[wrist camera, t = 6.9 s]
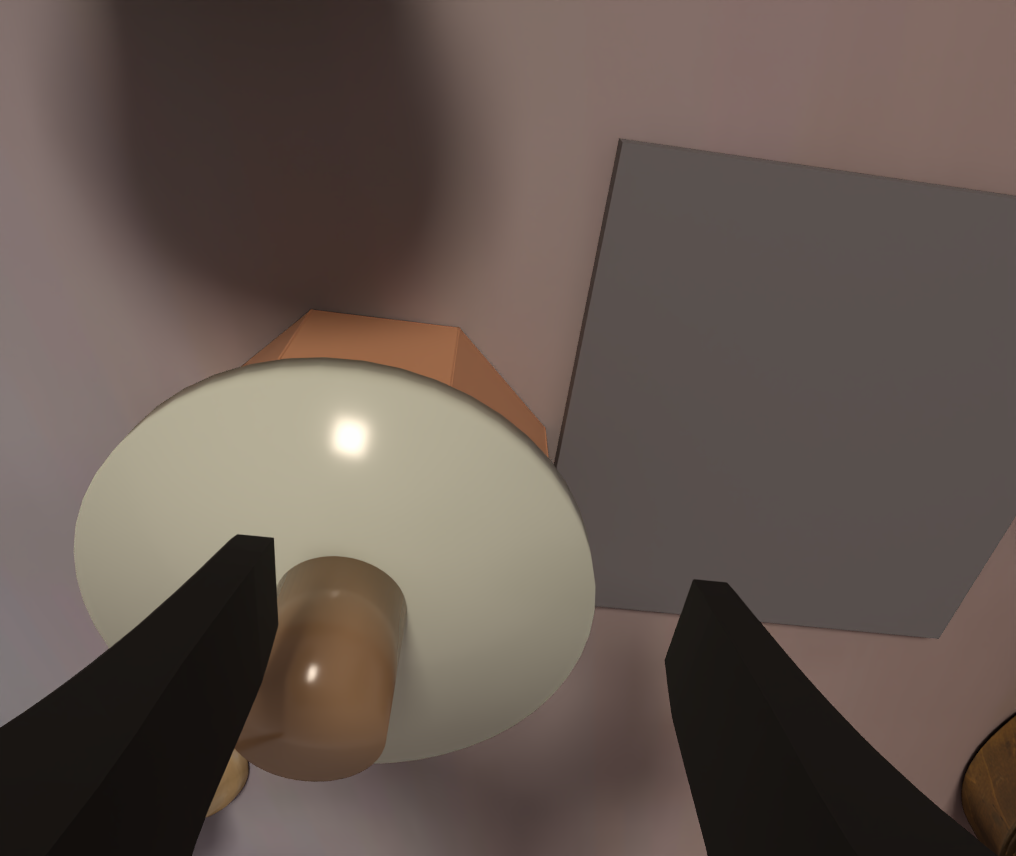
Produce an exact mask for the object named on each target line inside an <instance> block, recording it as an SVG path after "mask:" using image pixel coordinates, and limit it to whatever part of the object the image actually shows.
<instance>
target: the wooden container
mask: <svg viewBox="0 0 1016 856" xmlns="http://www.w3.org/2000/svg"><path fill="white" fill-rule="evenodd" d="M962 806H963V810H964V813H965V815H966V817H967V819H968V821H969V823H970V825H971V827H972V829H973V831H974V833H975V834H976V836H977V838H978V840H979V841H980V842H981V843H983V844H984V845H985V846H986V847H988V848H989V849H990V850H991V851H993V852H994V853H995V854H996V855H998V856H1016V716H1015V717H1013V718H1012V719H1011V720H1009V721H1008V722H1007V723H1006V724H1005V725H1004V726H1002V727H1001V728H1000V729H999V730H998V731H997V732H996V733H995V734H994V735H993V736H992V737H991V738H990V739H989V740H988V741H987V742H986V744H985V745H984V746H983V747H982V748H981V749H980V751H979V752H978V753H977V755H976V756H975V758H974V759H973V761H972V762H971V764H970V766H969V767H968V769H967V772H966V774H965V777H964V780H963V785H962Z"/></svg>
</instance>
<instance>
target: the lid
mask: <svg viewBox="0 0 1016 856" xmlns="http://www.w3.org/2000/svg"><path fill="white" fill-rule="evenodd" d="M237 534H242V535H252V536H262V537H272V538H274V548H275V567H276V586H277V606H278V629H277V632H276V636H275V640H274V643H273V647H272V650H271V654H270V657H269V661H268V664H267V667H266V671H265V674H264V678H263V681H262V684H261V686H260V688H259V691H258V693H257V696H256V698H255V701H254V703H253V705H252V708H251V710H250V713H249V715H248V717H247V720H246V722H245V725H244V727H243V729H242V732H241V734H240V736H239V739H238V741H237V744H236V746H235V749H236V751H237V752H238V753H239V754H240V755H241V756H242V757H244V758H245V759H246V760H248V761H249V762H250V763H252V764H253V765H255V766H257V767H259V768H261V769H263V770H265V771H267V772H269V773H272V774H275V775H278V776H281V777H285V778H289V779H294V780H301V781H314V782H317V781H332V780H338V779H343V778H347V777H350V776H353V775H355V774H358V773H360V772H362V771H364V770H365V769H367V768H368V767H370V766H371V765H372V764H380V763H395V762H404V761H413V760H419V759H424V758H429V757H434V756H440V755H444V754H447V753H451V752H454V751H457V750H461V749H464V748H467V747H470V746H472V745H475V744H477V743H480V742H482V741H485V740H487V739H490V738H492V737H494V736H496V735H498V734H500V733H501V732H503V731H505V730H507V729H509V728H511V727H513V726H514V725H516V724H517V723H519V722H520V721H522V720H523V719H525V718H526V717H527V716H529V715H530V714H532V713H533V712H535V711H536V710H537V709H538V708H539V707H540V706H541V705H542V704H543V703H545V702H546V701H547V700H548V699H549V698H550V697H551V696H552V695H553V694H554V693H555V692H556V691H557V690H558V688H559V687H560V686H561V685H562V684H563V682H564V681H565V680H566V679H567V678H568V676H569V675H570V673H571V671H572V670H573V668H574V666H575V665H576V663H577V662H578V660H579V658H580V657H581V654H582V652H583V649H584V647H585V644H586V642H587V639H588V637H589V634H590V630H591V625H592V621H593V616H594V612H595V587H596V586H595V579H594V572H593V565H592V558H591V552H590V546H589V540H588V534H587V530H586V527H585V524H584V521H583V518H582V515H581V511H580V508H579V506H578V504H577V502H576V500H575V498H574V496H573V494H572V492H571V490H570V488H569V487H568V485H567V483H566V481H565V480H564V479H563V477H562V476H561V474H560V473H559V471H558V470H557V469H556V467H555V466H554V464H553V463H552V462H551V460H550V459H549V458H548V457H547V456H546V455H545V454H544V452H543V451H542V450H541V449H540V448H539V447H538V446H537V445H536V444H535V443H534V442H533V441H532V440H531V439H530V438H529V437H528V436H527V435H526V434H525V433H524V432H522V431H521V430H520V429H519V428H517V427H516V426H515V425H514V424H513V423H511V422H510V421H509V420H508V419H506V418H505V417H504V416H503V415H501V414H500V413H498V412H497V411H495V410H493V409H492V408H490V407H488V406H487V405H485V404H484V403H482V402H480V401H479V400H477V399H476V398H474V397H472V396H471V395H468V394H466V393H464V392H462V391H460V390H458V389H455V388H453V387H451V386H449V385H447V384H445V383H442V382H440V381H438V380H435V379H432V378H429V377H426V376H423V375H420V374H417V373H414V372H411V371H408V370H405V369H402V368H397V367H393V366H388V365H383V364H378V363H373V362H368V361H363V360H351V359H340V358H328V357H315V358H286V359H280V360H273V361H267V362H261V363H255V364H249V365H245V366H242V367H239V368H235V369H232V370H228V371H225V372H222V373H218V374H215V375H213V376H211V377H208V378H206V379H204V380H202V381H200V382H197V383H195V384H193V385H191V386H189V387H186V388H184V389H183V390H181V391H180V392H178V393H177V394H175V395H173V396H172V397H170V398H169V399H167V400H166V401H164V402H163V403H161V404H160V405H158V406H157V407H156V408H155V409H154V410H152V411H151V412H150V413H149V414H148V415H147V416H146V417H145V418H144V419H143V420H142V421H140V422H139V423H138V424H137V425H136V426H135V427H134V428H133V429H132V430H131V431H130V433H129V434H128V435H127V436H126V437H125V438H124V439H123V440H122V441H121V443H120V444H119V445H118V446H117V447H116V448H115V449H114V450H113V452H112V453H111V454H110V456H109V457H108V458H107V460H106V461H105V462H104V463H103V465H102V466H101V467H100V469H99V470H98V471H97V473H96V474H95V476H94V478H93V480H92V482H91V484H90V486H89V488H88V490H87V492H86V494H85V496H84V498H83V501H82V504H81V508H80V511H79V515H78V519H77V522H76V529H75V541H74V558H75V567H76V577H77V580H78V584H79V587H80V591H81V594H82V598H83V601H84V604H85V606H86V608H87V610H88V612H89V614H90V617H91V619H92V621H93V623H94V625H95V627H96V629H97V630H98V632H99V633H100V635H101V636H102V638H103V639H104V641H105V642H106V644H107V645H108V647H109V648H110V647H112V646H113V645H114V644H115V643H116V642H118V641H119V640H120V639H121V638H123V637H124V636H125V635H126V634H127V633H129V632H130V631H131V630H132V629H134V628H135V627H136V626H137V625H138V624H139V623H141V622H142V621H143V620H144V619H145V618H146V617H147V616H148V615H150V614H151V613H152V612H153V611H154V610H155V609H156V608H157V607H159V606H160V605H161V604H162V603H163V602H164V601H165V600H166V599H168V598H169V597H170V596H171V595H172V594H173V593H174V592H175V591H176V590H178V589H179V588H180V587H181V586H182V585H183V584H184V583H185V582H186V581H187V580H188V579H189V578H190V577H191V576H193V575H194V574H195V573H196V572H197V571H198V570H199V569H200V568H201V567H202V566H203V565H204V564H205V563H206V562H207V561H208V560H209V559H210V558H211V557H212V556H213V555H214V554H215V553H216V552H217V551H219V550H220V549H221V548H222V547H223V546H224V545H225V544H226V543H227V542H228V541H229V540H230V539H231V538H232V537H234V536H235V535H237Z"/></svg>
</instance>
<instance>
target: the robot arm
mask: <svg viewBox="0 0 1016 856" xmlns="http://www.w3.org/2000/svg"><path fill="white" fill-rule="evenodd" d="M277 629H278V606H277V586H276V567H275V548H274V538H272V537H262V536H252V535H242V534H237V535H235V536H234V537H232V538H231V539H230V540H229V541H228V542H227V543H226V544H225V545H224V546H223V547H222V548H221V549H220V550H219V551H217V552H216V553H215V554H214V555H213V556H212V557H211V558H210V559H209V560H208V561H207V562H206V563H205V564H204V565H203V566H202V567H201V568H200V569H199V570H198V571H197V572H196V573H195V574H194V575H193V576H191V577H190V578H189V579H188V580H187V581H186V582H185V583H184V584H183V585H182V586H181V587H180V588H179V589H178V590H176V591H175V592H174V593H173V594H172V595H171V596H170V597H169V598H168V599H166V600H165V601H164V602H163V603H162V604H161V605H160V606H159V607H157V608H156V609H155V610H154V611H153V612H152V613H151V614H150V615H148V616H147V617H146V618H145V619H144V620H143V621H142V622H141V623H139V624H138V625H137V626H136V627H135V628H134V629H132V630H131V631H130V632H129V633H127V634H126V635H125V636H124V637H123V638H121V639H120V640H119V641H118V642H116V643H115V644H114V645H113V646H112V647H110V648H109V649H108V650H107V651H105V652H104V653H103V654H102V655H100V656H99V657H98V658H97V659H96V660H94V661H93V662H92V663H91V664H89V665H88V666H87V667H85V668H84V669H83V670H81V671H80V672H79V673H78V674H76V675H75V676H74V677H72V678H71V679H70V680H68V681H67V682H66V683H64V684H63V685H61V686H60V687H59V688H57V689H56V690H55V691H53V692H52V693H50V694H49V695H48V696H46V697H45V698H43V699H42V700H40V701H39V702H38V703H36V704H35V705H33V706H32V707H31V708H29V709H28V710H26V711H25V712H23V713H22V714H20V715H19V716H17V717H16V718H14V719H13V720H11V721H10V722H8V723H7V724H5V725H4V726H2V727H0V856H192V854H193V850H194V847H195V844H196V841H197V839H198V836H199V833H200V831H201V828H202V825H203V823H204V820H205V817H206V815H207V812H208V810H209V807H210V805H211V803H212V800H213V798H214V795H215V793H216V791H217V788H218V786H219V784H220V781H221V779H222V777H223V774H224V772H225V770H226V767H227V765H228V762H229V760H230V758H231V755H232V753H233V751H234V748H235V746H236V744H237V741H238V739H239V736H240V734H241V732H242V729H243V727H244V725H245V722H246V720H247V717H248V715H249V713H250V710H251V708H252V705H253V703H254V701H255V698H256V696H257V693H258V691H259V688H260V686H261V684H262V681H263V678H264V674H265V671H266V667H267V664H268V661H269V657H270V654H271V650H272V647H273V643H274V640H275V636H276V632H277ZM665 667H666V675H667V684H668V692H669V699H670V706H671V713H672V719H673V723H674V727H675V731H676V735H677V739H678V743H679V747H680V751H681V755H682V758H683V762H684V766H685V770H686V774H687V778H688V781H689V785H690V789H691V793H692V797H693V800H694V804H695V808H696V812H697V816H698V820H699V823H700V827H701V831H702V835H703V839H704V842H705V846H706V850H707V855H708V856H998V855H996V854H995V853H994V852H993V851H991V850H990V849H989V848H988V847H986V846H985V845H984V844H983V843H981V842H980V841H979V840H978V839H976V838H975V837H974V836H973V835H972V834H970V833H969V832H968V831H967V830H966V829H964V828H963V827H962V826H961V825H959V824H958V823H957V822H956V821H955V820H953V819H952V818H951V817H950V816H948V815H947V814H946V813H945V812H944V811H942V810H941V809H940V808H939V807H938V806H937V805H936V804H934V803H933V802H932V801H931V800H930V799H929V798H927V797H926V796H925V795H924V794H923V793H922V792H921V791H919V790H918V789H917V788H916V787H915V786H914V785H913V784H912V783H911V782H910V781H909V780H907V779H906V778H905V777H904V776H903V775H902V774H901V773H900V772H899V771H898V770H897V769H896V768H894V767H893V766H892V765H891V764H890V763H889V762H888V761H887V760H886V759H885V758H884V757H883V756H882V755H880V754H879V753H878V752H877V751H876V750H875V749H874V748H873V747H872V746H871V745H870V744H869V743H868V742H867V741H866V740H865V739H864V738H863V737H862V736H861V735H860V734H859V733H858V732H857V731H856V730H855V729H854V728H853V726H852V725H851V724H850V723H849V722H848V721H847V720H846V719H845V718H844V717H843V716H842V715H841V714H840V713H839V712H838V711H837V710H836V709H835V708H834V707H833V706H832V705H831V703H830V702H829V701H828V700H827V699H826V698H825V697H824V696H823V695H822V694H821V692H820V691H819V690H818V689H817V688H816V687H815V686H814V685H813V684H812V682H811V681H810V680H809V679H808V678H807V677H806V676H805V675H804V673H803V672H802V671H801V670H800V669H799V668H798V666H797V665H796V664H795V663H794V662H793V661H792V660H791V658H790V657H789V656H788V655H787V654H786V652H785V651H784V650H783V649H782V648H781V647H780V645H779V644H778V643H777V642H776V641H775V639H774V638H773V637H772V636H771V635H770V633H769V632H768V631H767V630H766V628H765V627H764V626H763V625H762V624H761V622H760V621H759V620H758V619H757V618H756V616H755V615H754V614H753V613H752V611H751V610H750V609H749V608H748V607H747V605H746V604H745V603H744V602H743V600H742V599H741V598H740V597H739V596H738V594H737V593H736V592H735V591H734V590H733V588H732V587H731V586H730V585H729V584H728V583H727V582H718V581H708V580H698V579H693V581H692V584H691V587H690V589H689V592H688V595H687V598H686V601H685V604H684V607H683V609H682V612H681V615H680V618H679V621H678V624H677V627H676V629H675V632H674V635H673V638H672V641H671V644H670V647H669V649H668V652H667V655H666V658H665Z"/></svg>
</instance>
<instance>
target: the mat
mask: <svg viewBox="0 0 1016 856" xmlns="http://www.w3.org/2000/svg"><path fill="white" fill-rule="evenodd" d="M554 466H555V467H556V469H557V470H558V471H559V473H560V474H561V476H562V477H563V479H564V480H565V481H566V483H567V485H568V487H569V488H570V490H571V492H572V494H573V496H574V498H575V500H576V502H577V504H578V506H579V508H580V511H581V515H582V518H583V521H584V524H585V527H586V530H587V534H588V540H589V546H590V552H591V558H592V565H593V572H594V579H595V586H596V587H595V606H599V607H609V608H620V609H630V610H641V611H652V612H662V613H673V614H681V612H682V609H683V607H684V604H685V601H686V598H687V595H688V592H689V589H690V587H691V584H692V581H693V579H698V580H708V581H718V582H727V583H728V584H729V585H730V586H731V587H732V588H733V590H734V591H735V592H736V593H737V594H738V596H739V597H740V598H741V599H742V600H743V602H744V603H745V604H746V605H747V607H748V608H749V609H750V610H751V611H752V613H753V614H754V615H755V616H756V618H757V619H758V620H759V621H760V622H767V623H778V624H788V625H799V626H810V627H820V628H831V629H841V630H852V631H862V632H873V633H883V634H894V635H904V636H915V637H925V638H936V639H939V638H940V636H941V634H942V633H943V631H944V630H945V628H946V626H947V625H948V623H949V622H950V620H951V618H952V617H953V615H954V614H955V612H956V610H957V609H958V607H959V606H960V604H961V602H962V601H963V599H964V598H965V596H966V594H967V593H968V591H969V590H970V588H971V587H972V585H973V583H974V582H975V580H976V579H977V577H978V575H979V574H980V572H981V571H982V569H983V567H984V566H985V564H986V563H987V561H988V559H989V558H990V556H991V555H992V553H993V551H994V550H995V548H996V547H997V545H998V543H999V542H1000V540H1001V539H1002V537H1003V535H1004V534H1005V532H1006V531H1007V529H1008V527H1009V526H1010V524H1011V523H1012V521H1013V519H1014V518H1015V516H1016V196H1013V195H1007V194H1000V193H993V192H986V191H979V190H972V189H965V188H958V187H951V186H944V185H937V184H930V183H924V182H917V181H910V180H903V179H896V178H889V177H882V176H875V175H868V174H861V173H854V172H847V171H841V170H834V169H827V168H820V167H813V166H806V165H799V164H792V163H785V162H778V161H771V160H764V159H758V158H751V157H744V156H737V155H730V154H723V153H716V152H709V151H702V150H695V149H688V148H682V147H675V146H668V145H661V144H654V143H647V142H640V141H633V140H626V139H619V142H618V147H617V152H616V157H615V162H614V167H613V172H612V177H611V182H610V187H609V192H608V197H607V202H606V207H605V212H604V217H603V222H602V227H601V232H600V237H599V242H598V247H597V252H596V257H595V262H594V267H593V272H592V277H591V282H590V287H589V292H588V297H587V302H586V307H585V312H584V317H583V322H582V327H581V332H580V337H579V342H578V347H577V352H576V357H575V362H574V367H573V372H572V377H571V382H570V387H569V392H568V397H567V402H566V407H565V412H564V417H563V422H562V427H561V432H560V437H559V442H558V447H557V452H556V457H555V462H554Z"/></svg>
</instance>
